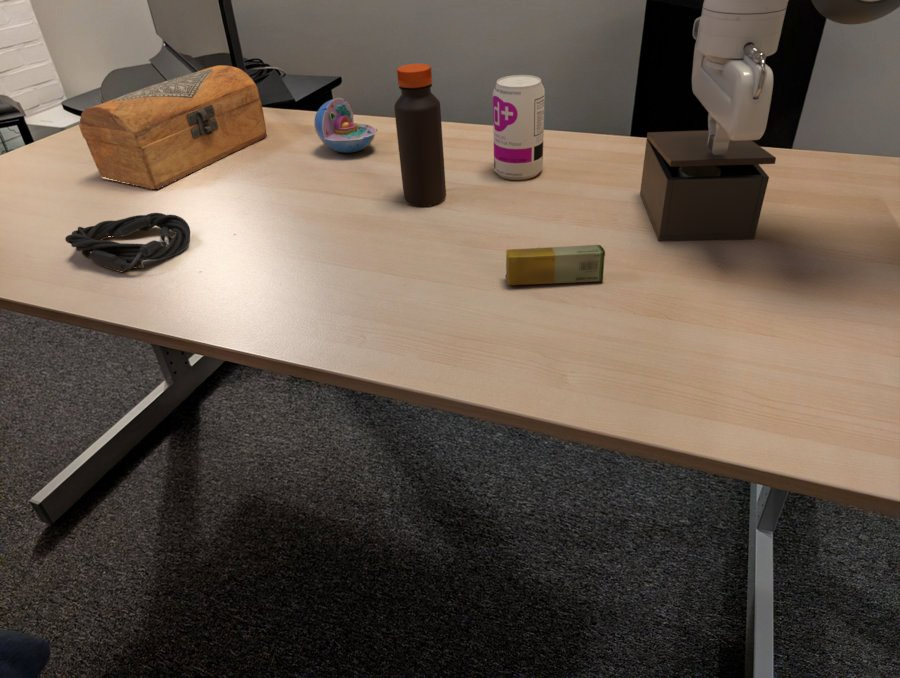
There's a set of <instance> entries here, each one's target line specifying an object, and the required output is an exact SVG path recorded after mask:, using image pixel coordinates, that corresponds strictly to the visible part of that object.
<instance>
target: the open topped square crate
mask: <svg viewBox="0 0 900 678" xmlns="http://www.w3.org/2000/svg"><path fill="white" fill-rule="evenodd" d="M716 167H718V168H720V169H721V171H722V174H721V176H703V177H677V175H678V169H679V168H680V167H671V166H670V165H669V164H668V163H667V161H666V160H665V159H664V158H663V157H662V155H661V154H660V153H659V152H658V151H657V149H656V148H655V147H654V146H653V144H652V143H651V142H650V141H649V140H648V138H647V137H646V142H645V150H644V157H643V166H642V173H641V183H640V191H639V195H640V198H641V200H642V203H643V205H644V208H645V210H646V213H647V214H648V217H649V220H650V222H651V225H652V228H653V231H654V233H655V235H656V239H657V240H658V242H666V241H667V242H669V241H670V242H672V241H721V240H722V241H723V240H724V241H725V240H726V241H727V240H755V238H756V233H757V229H758V224H759V221H760V217H761V213H762V209H763V206H764V205H763V204H764V200H765V196H766V191H767V188H768V185H769V180H770V176H769V175H768V174H767V173H766V171H765V170H764V169H763V168H762V166H761V164H755V165H719V166H716Z"/></svg>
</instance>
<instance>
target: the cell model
mask: <svg viewBox="0 0 900 678" xmlns="http://www.w3.org/2000/svg"><path fill="white" fill-rule="evenodd" d="M313 124H314V125H313V126H314V130H315V133H316V135H317V137H318V138H319V140H320V141H321V142H322V143H323V144H324V145H325V146H326V147H327V148H329V149H331V150H332V151H335V152H338V153H341V154H351V153H357V152H359V151H362V150H364V149H365V148H367V147H368V146H369V145H370V144H371V143H372V141H373V140H374V138H375V136H376V133H377V131H378V128H376V127H374V126H372V125H370V124H366V123H358V122H354V112H353V110H352V108H351V106H350V104H349V102H348V101H347V100H344V98H342V97H335V98H332V99H330V100H327V101H326V102H324V103H323V104H322V105H321V106H320V107H319V108H318V110H317V111H316V113H315V115H314V122H313Z"/></svg>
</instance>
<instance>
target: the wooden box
mask: <svg viewBox="0 0 900 678" xmlns="http://www.w3.org/2000/svg"><path fill="white" fill-rule="evenodd" d="M78 127H79V130H80V133H81V135H82V137H83V139H84V140H85V142H86V145H87V147H88V150H89V152H90V155H91V157H92V160H93V162H94V164H95V167H96V169H97V171H98V173H99V175H100V177H101V176H102V177H106V178H109V179H113V180H117V181H120V182H125V183H129V184H134V185H137V186H136V187H138V186H142V187H141V188H143V187H146V188H145V189H148V188H151V189H150V190H152V189H158V188H160V187H162V186H165V185H167V184H169V183H170V184H172V183H174V182H176V181H178V180H181V179H183V178H185V177H187V176H188V174H189V175H190V173H191V174H193V173H195V172H197V171H199V170H201V169H203V168H205V167H207V166H209V165H211V164H213V163H215V162H217V161H219V160H221V159H223V158H225V157H227V156H229V155H231V154H233V153H236V152H238V151H240V150H241V149H244V148H246V147H248V146H250V145H253V144H255V143H257V142H259V141H260V140H262V139H264V138H266V137H267V135H268V133H267V125H266V121H265V115H264V109H263V105H262V101H261V99H260V93H259V88H258V86H257V84H256V82H255V81H254V80H253V78H252V77H251V76H250V75H249V74H248V73H247V72H245V71H244V70H243V69H241V68H238V67H236V66H233V65H232V66H231V65H226V64H225V65H224V64H222V65H214V66H210V67H207V68H203V69H202V70H198V71H195V72H192V73H188V74H185V75H181V76H178V77H173V78H171V79H168V80H165V81H161V82H159V83H155V84H152V85H149V86H147V87H143V88H140V89H137V90H134V91H131V92H128V93H126V94H124V95H121V96H119V97H117V98H116V97H115V98H113V99H110V100H108V101H105V102H103V103H100V104H96V105H94V106H90V107H87V108H84V110H83V111H82V112H81V114H80V118H79V123H78ZM192 172H193V173H192ZM186 175H187V176H186ZM102 177H101V178H102ZM177 179H178V180H177ZM175 180H176V181H175ZM173 181H174V182H173ZM171 182H172V183H171ZM170 184H169V185H170ZM134 185H133V186H134ZM167 186H168V185H167ZM165 187H166V186H165ZM158 190H159V189H158Z"/></svg>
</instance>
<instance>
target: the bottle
mask: <svg viewBox="0 0 900 678" xmlns="http://www.w3.org/2000/svg"><path fill="white" fill-rule="evenodd" d="M396 74H397V76H396V77H397V85H398V89H399V90H400V92H401V95H400V96H399V98H397V100H396V101H395V103H394V106H393V108H394V117H395V118H394V119H395V126H396V127H395V128H396V136H397V145H398V156H399V164H400V173H401V180H402V181H401V183H402V184H401V185H402V193H403V199H404V201H405V203H407V204H408V205H410V206H413V207H432V206H436V205H438V204H440V203H442V202H443V201H444V200H445V199H446V196H447V185H446V172H445V171H446V170H445V158H444V155H445V154H444V141H443V140H444V139H443V128H442V111H441V102H440V100H439V99H438V98H437V97H436V96H435V95H434V93H432V92H431V91H432V90H431V88H432V86H433V74H432V66H431V65H429V64H427V63H408V64H404V65H400V66H399V67H397V68H396Z"/></svg>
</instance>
